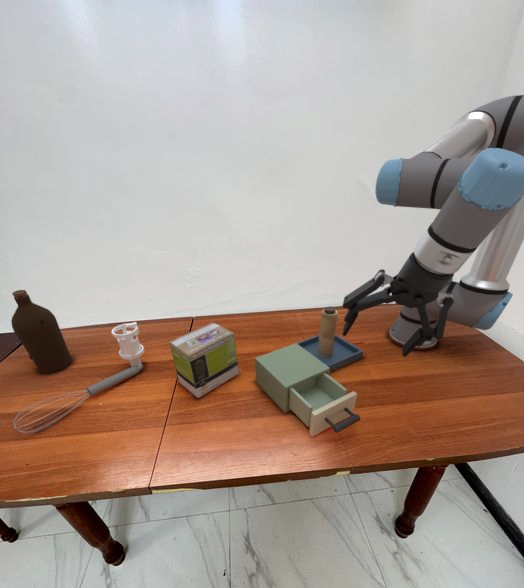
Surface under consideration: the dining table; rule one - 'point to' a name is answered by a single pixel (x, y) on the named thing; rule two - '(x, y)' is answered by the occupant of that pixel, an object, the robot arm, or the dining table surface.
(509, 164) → the robot arm
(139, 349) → the strainer
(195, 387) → the tea box
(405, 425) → the dining table surface
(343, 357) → the tray
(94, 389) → the kitchen whisk
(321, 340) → the pepper mill
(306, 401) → the drawer
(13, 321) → the olive oil
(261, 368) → the cabinet
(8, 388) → the dining table surface
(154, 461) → the dining table surface
